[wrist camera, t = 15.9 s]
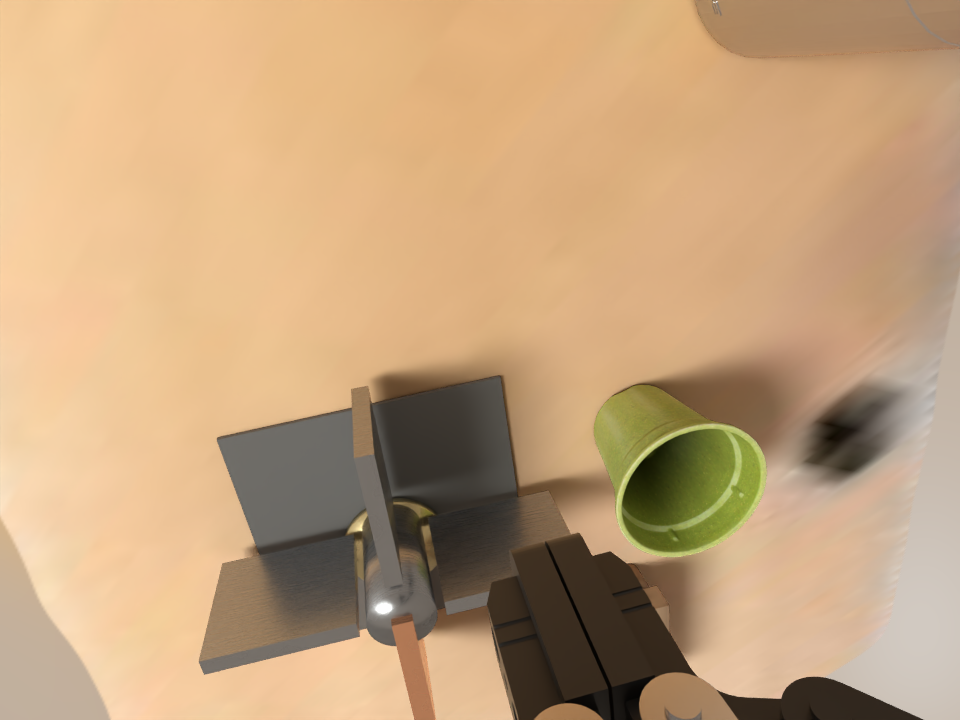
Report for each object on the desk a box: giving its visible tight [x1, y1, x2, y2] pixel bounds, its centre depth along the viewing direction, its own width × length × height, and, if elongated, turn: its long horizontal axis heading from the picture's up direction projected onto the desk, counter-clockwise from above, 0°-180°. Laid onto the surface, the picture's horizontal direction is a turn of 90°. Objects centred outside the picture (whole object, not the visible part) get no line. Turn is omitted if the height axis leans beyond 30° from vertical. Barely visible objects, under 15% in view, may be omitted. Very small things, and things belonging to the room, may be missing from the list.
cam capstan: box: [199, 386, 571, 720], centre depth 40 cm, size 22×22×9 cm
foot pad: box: [217, 376, 518, 636], centre depth 44 cm, size 18×19×1 cm
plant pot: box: [594, 385, 767, 557], centre depth 42 cm, size 9×9×9 cm
